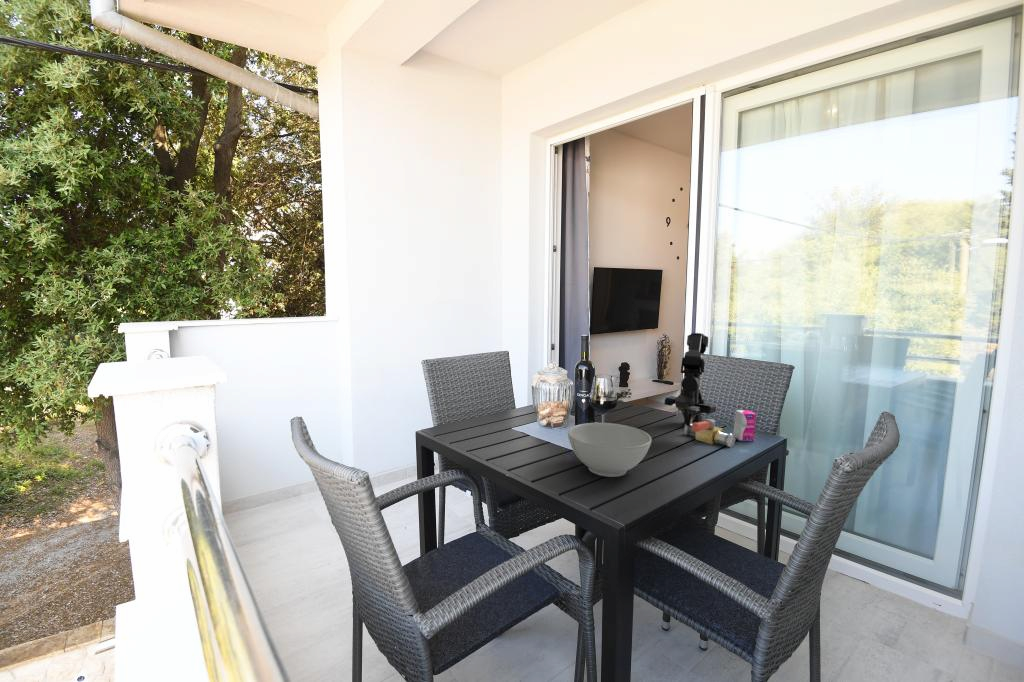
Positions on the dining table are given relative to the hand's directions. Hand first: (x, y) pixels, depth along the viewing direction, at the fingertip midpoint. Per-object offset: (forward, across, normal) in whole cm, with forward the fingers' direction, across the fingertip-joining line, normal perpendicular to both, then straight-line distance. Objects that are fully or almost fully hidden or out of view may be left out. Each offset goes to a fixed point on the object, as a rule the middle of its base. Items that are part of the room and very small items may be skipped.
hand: (688, 425), depth 192 cm
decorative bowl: (+7, -4, -49) cm, 50 cm away
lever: (+1, +4, +4) cm, 6 cm away
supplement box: (+6, +14, +21) cm, 26 cm away
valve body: (+6, +5, +8) cm, 11 cm away
